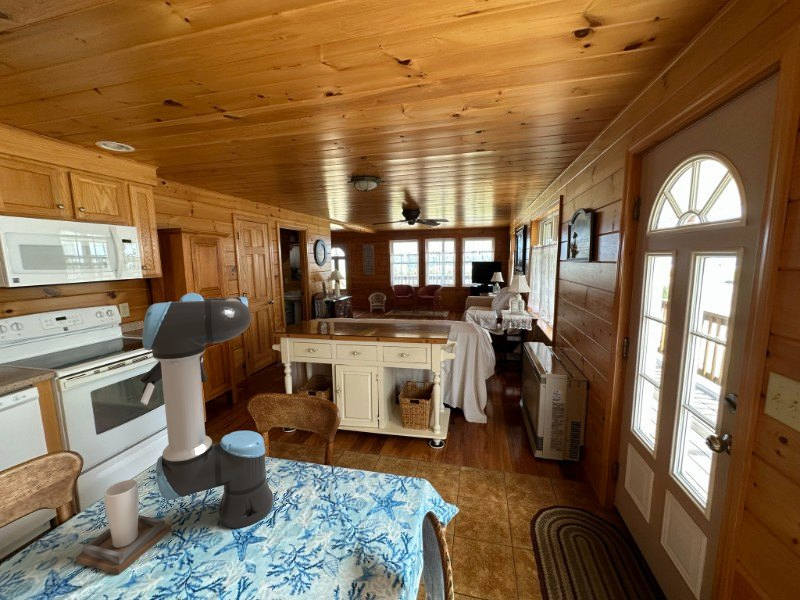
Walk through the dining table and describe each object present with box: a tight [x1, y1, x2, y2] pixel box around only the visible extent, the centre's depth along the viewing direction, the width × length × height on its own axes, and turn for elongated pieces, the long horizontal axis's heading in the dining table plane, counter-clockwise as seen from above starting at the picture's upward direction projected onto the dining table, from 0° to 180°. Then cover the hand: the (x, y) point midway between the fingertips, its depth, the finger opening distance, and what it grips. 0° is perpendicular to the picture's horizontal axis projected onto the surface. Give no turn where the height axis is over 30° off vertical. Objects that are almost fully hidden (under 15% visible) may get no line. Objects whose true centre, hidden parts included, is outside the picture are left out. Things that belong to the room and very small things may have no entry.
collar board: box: [75, 514, 173, 575], centre depth 88 cm, size 14×14×4 cm
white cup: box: [103, 479, 140, 548], centre depth 87 cm, size 7×7×15 cm
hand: (166, 402), depth 109 cm, fingers open, 13 cm apart
